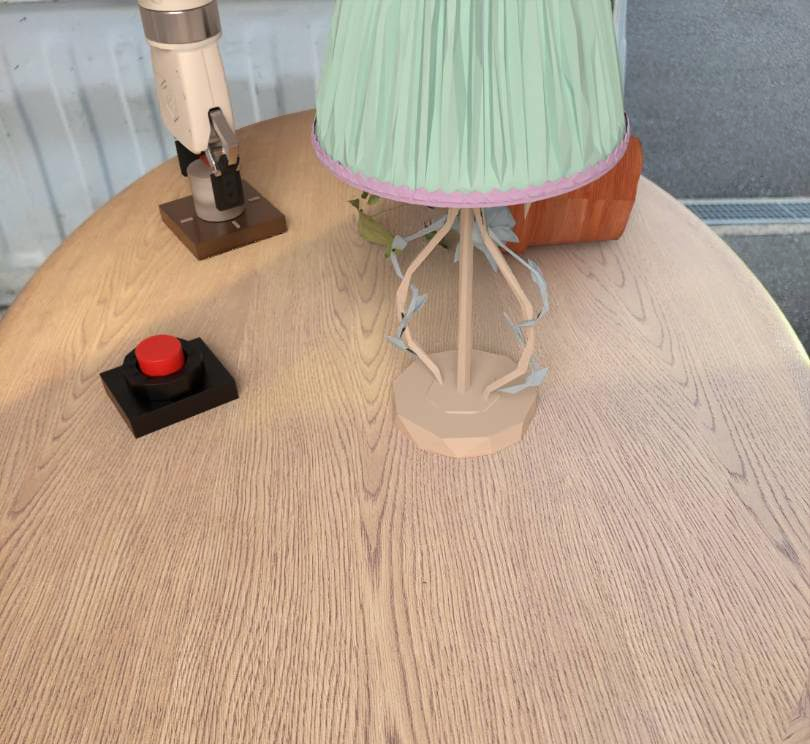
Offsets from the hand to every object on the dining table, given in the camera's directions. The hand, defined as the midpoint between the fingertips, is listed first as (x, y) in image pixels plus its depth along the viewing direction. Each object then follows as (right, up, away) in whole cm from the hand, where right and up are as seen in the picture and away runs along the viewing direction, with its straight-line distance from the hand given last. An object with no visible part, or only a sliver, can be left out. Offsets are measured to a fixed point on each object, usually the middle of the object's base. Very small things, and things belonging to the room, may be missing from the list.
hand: (212, 189), depth 98 cm
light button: (0, -24, -20) cm, 31 cm away
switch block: (0, -26, -17) cm, 31 cm away
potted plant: (+28, -7, -1) cm, 29 cm away
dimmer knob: (+1, -1, +2) cm, 2 cm away
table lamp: (+27, -28, -20) cm, 44 cm away
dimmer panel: (+1, -3, +3) cm, 5 cm away
